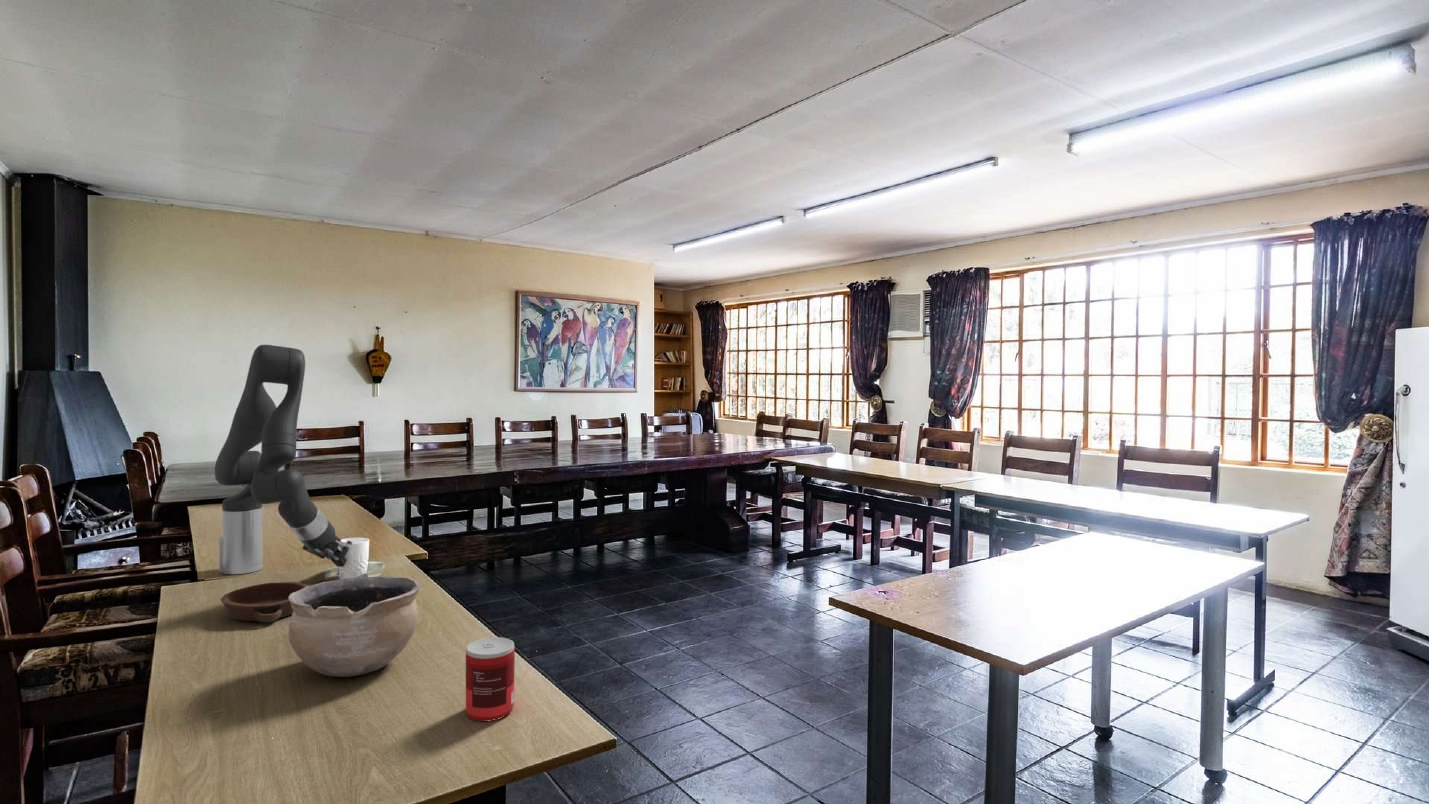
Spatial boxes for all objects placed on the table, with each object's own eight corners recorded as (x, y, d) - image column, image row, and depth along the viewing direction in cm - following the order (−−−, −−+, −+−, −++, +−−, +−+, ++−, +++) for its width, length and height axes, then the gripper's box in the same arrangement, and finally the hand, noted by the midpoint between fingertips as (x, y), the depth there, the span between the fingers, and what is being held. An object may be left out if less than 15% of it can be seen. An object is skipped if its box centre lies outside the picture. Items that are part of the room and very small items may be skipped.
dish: (218, 635, 149) (217, 612, 149) (223, 606, 168) (223, 585, 167) (313, 621, 158) (313, 599, 158) (308, 595, 177) (308, 575, 177)
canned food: (496, 696, 122) (496, 633, 122) (524, 710, 117) (524, 644, 117) (455, 711, 116) (455, 645, 116) (483, 727, 111) (483, 658, 111)
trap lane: (281, 596, 175) (281, 584, 174) (340, 571, 198) (339, 560, 198) (331, 599, 173) (331, 586, 173) (384, 572, 197) (384, 562, 197)
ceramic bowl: (269, 698, 120) (269, 611, 120) (306, 650, 141) (306, 576, 141) (410, 685, 126) (410, 601, 126) (425, 641, 147) (426, 569, 146)
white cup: (329, 579, 190) (329, 542, 190) (355, 572, 197) (355, 536, 197) (351, 582, 187) (351, 545, 187) (375, 575, 194) (375, 539, 194)
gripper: (343, 514, 177) (371, 552, 190) (293, 513, 179) (324, 550, 191) (330, 540, 172) (359, 577, 185) (279, 538, 173) (312, 575, 186)
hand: (342, 563), depth 188 cm, fingers closed
